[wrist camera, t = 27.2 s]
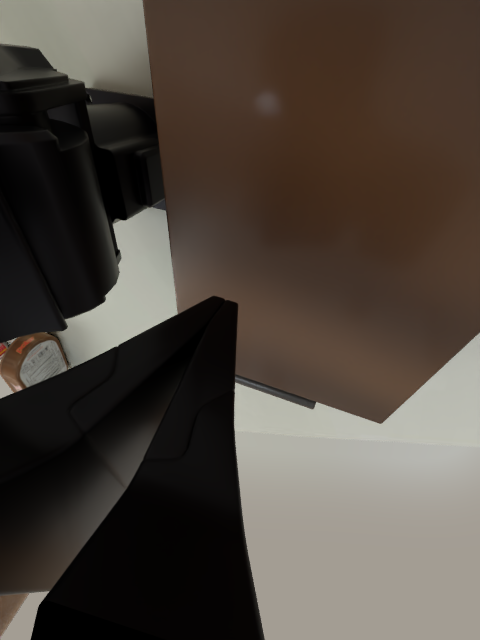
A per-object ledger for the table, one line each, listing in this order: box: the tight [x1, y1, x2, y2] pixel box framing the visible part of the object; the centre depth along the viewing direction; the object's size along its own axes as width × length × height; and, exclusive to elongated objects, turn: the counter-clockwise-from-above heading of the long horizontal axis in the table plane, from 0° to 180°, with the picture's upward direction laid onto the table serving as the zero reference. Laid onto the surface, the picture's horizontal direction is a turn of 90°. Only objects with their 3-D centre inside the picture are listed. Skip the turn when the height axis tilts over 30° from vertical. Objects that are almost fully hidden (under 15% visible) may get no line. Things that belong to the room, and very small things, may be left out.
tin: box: [0, 332, 68, 393], centre depth 42 cm, size 15×3×8 cm, turn 163°
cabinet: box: [143, 0, 480, 424], centre depth 13 cm, size 16×12×9 cm
